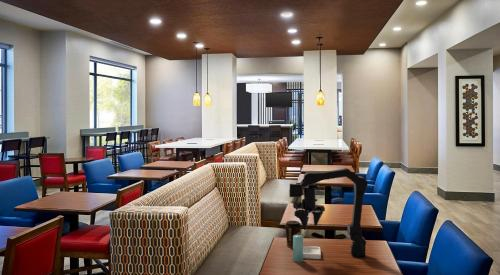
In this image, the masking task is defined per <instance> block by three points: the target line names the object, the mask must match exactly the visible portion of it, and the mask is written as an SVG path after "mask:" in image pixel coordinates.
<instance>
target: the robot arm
mask: <svg viewBox="0 0 500 275" xmlns="http://www.w3.org/2000/svg"><path fill="white" fill-rule="evenodd" d="M339 178H347V179H349V180H350V181H351V182H353V192H354V199H353V206H352V208H353V210H352V219H351V222H350V223H347V230H346V232H347V235H348V236H349V239H350V240H351V241H352V242H351V245H350V255H352V257H353V258H367V256H366V245H367V240H366V239H365V237H363V235H362V234H363V232H362V226H361V223H362V222H361V220H362V212H363V205H364V204H363V202H364V196H365V193H366V191H367V188H368V184H369V183H368V181H367V179H366V178H365V177H363V176H361V175H357V174H355V173H354V172H352V171H351V170H350V169H349V168H347V167H344V168H339V169H334V170H327V171H322V172H321V171H306V172H305V173H304V175H303V179H302V180H301V181H300V183H289V190H288V191H289V192H288V193H289V194H288V196H289V198H301V197H302V196H303V198H302V199H301V201H300V202H298V201H293V202H292V203H293V204H292V207H293V209H295V210H294V212H293V215H294V217H296V218H298V219H299V222H301V223H300V224H301V227H302V229H303V230H304V231H305V230H307V226H308V222H309V214H312V217H313V218H312V219H313V224H314V227H317V226H318V223H319V221H320V219H321V217H322V215H323V214H324V212H325V211H326V208H325V206H324V205H321V204H316V202H318V198H316V189H317V190H318V189H320V186H319V185H318V184H317V183H319V182H321V181H326V180H333V179H339Z"/></svg>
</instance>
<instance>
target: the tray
mask: <svg viewBox="0 0 500 275" xmlns="http://www.w3.org/2000/svg"><path fill="white" fill-rule="evenodd" d="M321 257H322V254H321V247H320V246H314V245H313V246H311V245H303V259H314V260H316V259H317V260H321Z"/></svg>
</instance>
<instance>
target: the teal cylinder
mask: <svg viewBox="0 0 500 275" xmlns="http://www.w3.org/2000/svg"><path fill="white" fill-rule="evenodd" d="M303 246H304V235H302V234H300V235H294V236H293V248H292V261H293V262H294V263H303V261H304V258H303Z"/></svg>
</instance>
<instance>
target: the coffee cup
mask: <svg viewBox="0 0 500 275" xmlns="http://www.w3.org/2000/svg"><path fill="white" fill-rule="evenodd" d="M300 222H301V221H298V220H287V221H286V223H285V225H284V227H285V237H286V239H285V240H286V247H288V248H292V249H293V236H294V235H301V227H302V223H300Z"/></svg>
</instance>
